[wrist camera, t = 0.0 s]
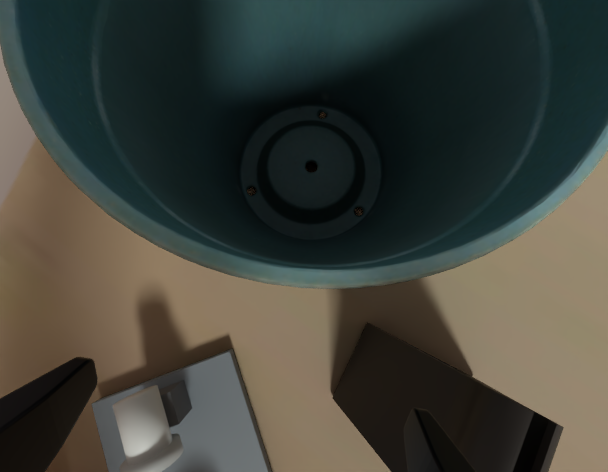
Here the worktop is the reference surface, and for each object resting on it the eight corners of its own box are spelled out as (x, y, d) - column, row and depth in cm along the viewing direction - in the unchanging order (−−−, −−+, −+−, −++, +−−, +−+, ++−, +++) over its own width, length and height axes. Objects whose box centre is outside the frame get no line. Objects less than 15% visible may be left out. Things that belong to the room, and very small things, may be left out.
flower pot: (151, 210, 25) (-166, 52, 8) (270, 37, 27) (224, -367, 10) (350, 328, 23) (482, 444, 7) (454, 137, 26) (740, -130, 9)
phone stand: (331, 395, 23) (368, 518, 11) (366, 321, 24) (436, 359, 12) (442, 456, 22) (607, 653, 10) (474, 378, 23) (660, 478, 11)
